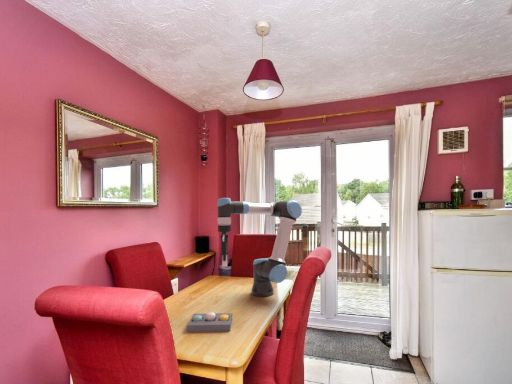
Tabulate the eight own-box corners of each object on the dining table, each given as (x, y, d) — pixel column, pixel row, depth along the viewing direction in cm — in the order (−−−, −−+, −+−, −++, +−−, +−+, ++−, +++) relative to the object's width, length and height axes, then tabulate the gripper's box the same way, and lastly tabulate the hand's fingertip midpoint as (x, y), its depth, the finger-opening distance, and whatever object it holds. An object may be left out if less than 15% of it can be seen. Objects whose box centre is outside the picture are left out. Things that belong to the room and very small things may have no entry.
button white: (216, 317, 134) (215, 311, 134) (214, 321, 129) (214, 315, 129) (207, 317, 134) (207, 312, 134) (205, 321, 129) (205, 315, 129)
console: (232, 318, 138) (232, 312, 138) (230, 331, 124) (229, 324, 125) (193, 319, 138) (193, 313, 138) (187, 332, 124) (187, 325, 124)
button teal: (203, 320, 133) (203, 314, 134) (201, 324, 129) (201, 318, 129) (194, 320, 133) (194, 314, 134) (192, 324, 129) (192, 318, 129)
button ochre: (229, 319, 134) (228, 314, 134) (228, 323, 129) (228, 317, 129) (220, 320, 134) (220, 314, 134) (219, 323, 129) (219, 317, 129)
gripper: (219, 224, 160) (219, 264, 158) (216, 225, 147) (216, 269, 145) (231, 224, 160) (232, 263, 158) (229, 225, 147) (230, 268, 145)
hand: (224, 266), depth 152 cm, fingers closed
